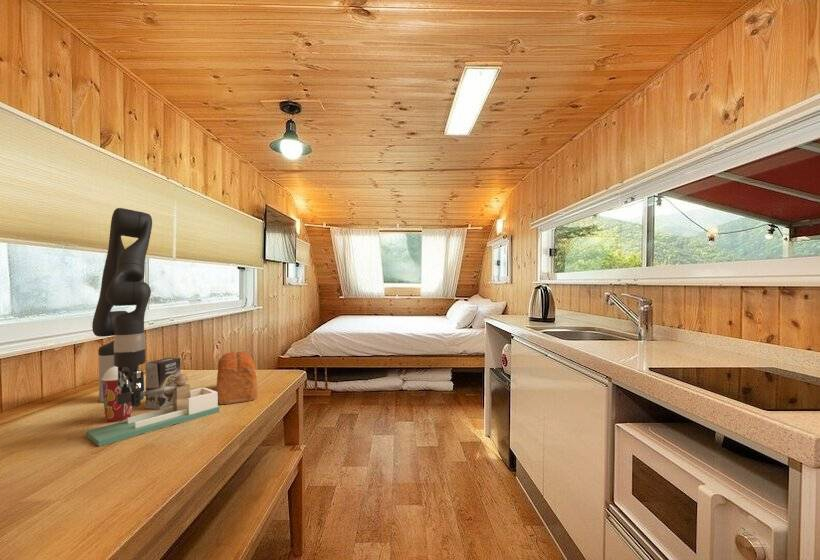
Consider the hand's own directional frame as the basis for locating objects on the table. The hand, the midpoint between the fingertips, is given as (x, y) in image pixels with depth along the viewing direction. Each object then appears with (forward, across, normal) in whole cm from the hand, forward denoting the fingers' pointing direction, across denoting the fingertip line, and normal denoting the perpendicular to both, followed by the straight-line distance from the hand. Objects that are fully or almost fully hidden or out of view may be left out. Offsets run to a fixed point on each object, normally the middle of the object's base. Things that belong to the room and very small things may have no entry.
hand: (130, 403), depth 110 cm
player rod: (+6, 0, +6) cm, 9 cm away
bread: (+8, -9, +37) cm, 39 cm away
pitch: (+8, 0, +7) cm, 11 cm away
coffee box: (+8, -18, +15) cm, 25 cm away
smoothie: (+8, -15, +1) cm, 17 cm away
